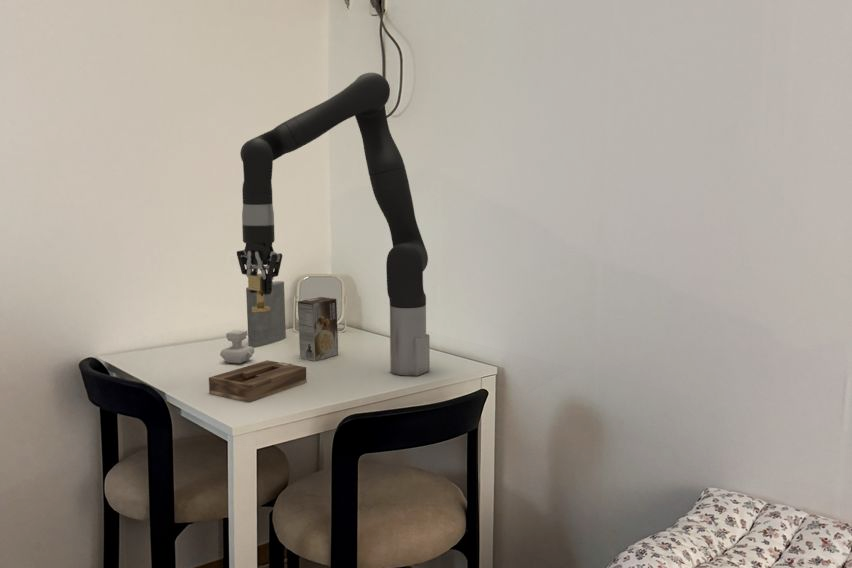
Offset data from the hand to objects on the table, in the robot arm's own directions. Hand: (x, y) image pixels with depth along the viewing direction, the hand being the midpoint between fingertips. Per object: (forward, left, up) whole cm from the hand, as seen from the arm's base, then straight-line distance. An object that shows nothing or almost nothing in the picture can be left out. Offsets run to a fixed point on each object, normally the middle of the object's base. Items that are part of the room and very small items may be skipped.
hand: (260, 293), depth 187 cm
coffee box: (+3, -25, -22) cm, 33 cm away
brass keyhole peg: (0, 0, -5) cm, 5 cm away
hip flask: (+28, -31, -22) cm, 47 cm away
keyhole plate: (-5, +6, -22) cm, 23 cm away
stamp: (+18, -9, -22) cm, 30 cm away
